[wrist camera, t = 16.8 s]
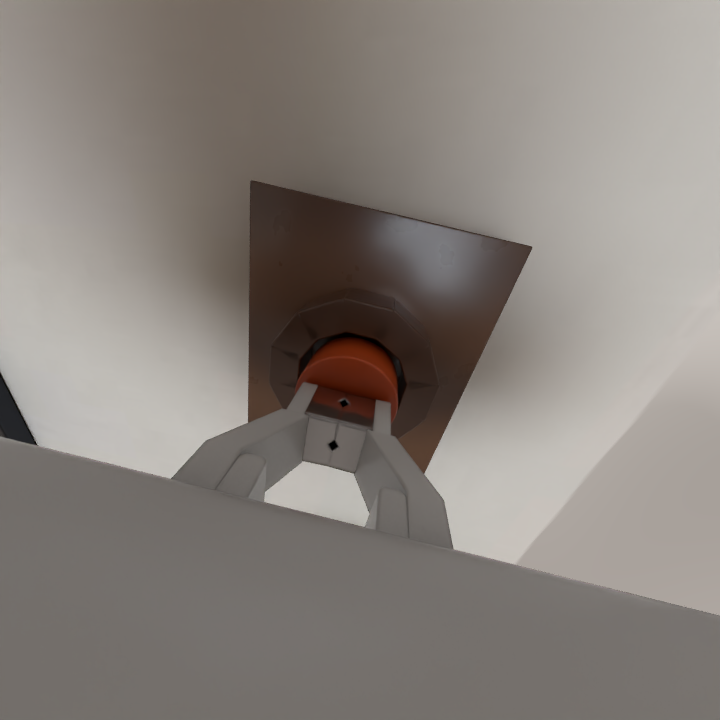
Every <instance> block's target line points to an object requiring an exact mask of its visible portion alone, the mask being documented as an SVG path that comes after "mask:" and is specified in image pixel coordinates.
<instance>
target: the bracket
mask: <svg viewBox="0 0 720 720" xmlns="http://www.w3.org/2000/svg"><path fill="white" fill-rule="evenodd" d="M0 437H4V438H8V439H12V440H16V441H20V442H24V443H28V444H32V445H36V444H35V442H34V440H33V438H32V437H31V435H30V433H29V431H28V429H27V427H26V425H25V423H24V421H23V419H22V417H21V415H20V413H19V411H18V409H17V407H16V405H15V403H14V402H13V400H12V398H11V396H10V394H9V392H8V390H7V388H6V386H5V384H4V382H3V380H2V378H1V376H0Z"/></svg>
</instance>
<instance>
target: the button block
mask: <svg viewBox="0 0 720 720" xmlns="http://www.w3.org/2000/svg"><path fill="white" fill-rule="evenodd" d="M531 250H532V247H531V246H527V245H523V244H519V243H515V242H510V241H506V240H502V239H498V238H494V237H489V236H485V235H481V234H477V233H472V232H468V231H464V230H460V229H455V228H451V227H447V226H443V225H439V224H434V223H430V222H426V221H422V220H417V219H413V218H409V217H405V216H400V215H396V214H392V213H388V212H384V211H379V210H375V209H371V208H367V207H362V206H358V205H354V204H350V203H345V202H341V201H337V200H333V199H329V198H324V197H320V196H316V195H312V194H307V193H303V192H299V191H295V190H290V189H286V188H282V187H278V186H274V185H269V184H265V183H261V182H257V181H251V182H250V283H249V385H248V423H249V422H251V421H254V420H256V419H258V418H261V417H263V416H265V415H268V414H270V413H273V412H275V411H277V410H280V409H287V407H288V406H289V404H290V403H291V401H292V399H293V398H294V396H295V388H296V384H297V381H298V379H299V377H300V375H301V374H302V372H303V371H304V369H305V367H306V366H307V364H308V363H309V361H310V360H311V358H312V357H313V355H314V354H315V352H316V351H317V350H318V349H319V348H320V347H321V346H323V345H324V344H326V343H327V342H329V341H331V340H334V339H338V338H343V337H356V338H361V339H365V340H368V341H370V342H372V343H374V344H376V345H377V346H379V347H380V348H382V349H383V350H384V351H385V352H386V353H387V354H388V355H389V357H390V358H391V360H392V361H393V363H394V366H395V368H396V372H397V386H398V410H397V413H396V416H395V418H394V420H393V422H392V424H391V436H395V437H396V438H397V439H398V441H399V442H400V443H401V445H402V446H403V447H404V449H405V450H406V451H407V453H408V454H409V455H410V456H411V458H412V459H413V460H414V462H415V463H416V464H417V466H418V467H419V468H420V470H421V471H422V472H423V474H424V473H425V471H426V469H427V467H428V465H429V463H430V460H431V458H432V456H433V454H434V452H435V450H436V448H437V446H438V444H439V442H440V440H441V437H442V435H443V433H444V431H445V429H446V427H447V425H448V423H449V421H450V419H451V417H452V415H453V412H454V410H455V408H456V406H457V404H458V402H459V400H460V398H461V396H462V394H463V392H464V389H465V387H466V385H467V383H468V381H469V379H470V377H471V375H472V373H473V371H474V369H475V367H476V364H477V362H478V360H479V358H480V356H481V354H482V352H483V350H484V348H485V346H486V344H487V341H488V339H489V337H490V335H491V333H492V331H493V329H494V327H495V325H496V323H497V321H498V318H499V316H500V314H501V312H502V310H503V308H504V306H505V304H506V302H507V300H508V298H509V296H510V293H511V291H512V289H513V287H514V285H515V283H516V281H517V279H518V277H519V275H520V273H521V270H522V268H523V266H524V264H525V262H526V260H527V258H528V256H529V254H530V252H531Z"/></svg>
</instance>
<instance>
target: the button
mask: <svg viewBox="0 0 720 720" xmlns="http://www.w3.org/2000/svg"><path fill="white" fill-rule="evenodd" d="M304 382H308V383H312V384H316V385H320V386H324V387H328V388H331V389H335V390H339V391H343V392H346V393H349V394H353V395H358V396H362V397H367V398H371V399H375V400H376V399H377V400H381V401H386V402H390V403H391V424H392V422H393V420H394V418H395V416H396V413H397V410H398V386H397V372H396V368H395V366H394V363H393V361H392V360H391V358H390V357H389V355H388V354H387V353H386V352H385V351H384V350H383V349H382V348H380V347H379V346H377V345H376V344H374V343H372V342H370V341H368V340H365V339H361V338H356V337H343V338H338V339H334V340H331V341H329V342H327V343H326V344H324V345H323V346H321V347H320V348H319V349H318V350H317V351H316V352H315V354H314V355H313V357H312V358H311V360H310V361H309V363H308V364H307V366H306V367H305V369H304V371H303V372H302V374H301V375H300V377H299V379H298V381H297V384H296V388H295V394H296V393H297V391H298V390H299V388H300V386H301V385H302V383H304Z"/></svg>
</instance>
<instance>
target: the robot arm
mask: <svg viewBox="0 0 720 720" xmlns="http://www.w3.org/2000/svg"><path fill="white" fill-rule="evenodd" d="M302 461H306V462H310V463H315V464H320V465H324V466H329V467H332V468H336V469H339V470H343V471H347V472H350V473H354V475H355V478H356V480H357V483H358V486H359V488H360V491H361V493H362V496H363V498H364V501H365V503H366V506H367V508H368V511H369V513H370V514H369V517H368V520H367V522H366V525H365V527H362V526H358V525H354V524H350V523H346V522H342V521H338V520H334V519H330V518H326V517H322V516H318V515H314V514H310V513H306V512H302V511H298V510H294V509H290V508H285V507H281V506H277V505H273V504H269V503H265V502H264V495H265V491H267V490H268V489H269V488H270V487H272V486H273V485H274V484H275V483H277V482H278V481H279V480H280V479H282V478H283V477H284V476H285V475H287V474H288V473H289V472H290V471H292V470H293V469H294V468H295V467H297V466H298V465H299V464H300V463H302ZM0 720H720V616H719V615H715V614H711V613H707V612H703V611H699V610H695V609H691V608H687V607H683V606H679V605H675V604H671V603H667V602H663V601H659V600H655V599H651V598H646V597H642V596H639V595H634V594H631V593H627V592H623V591H618V590H614V589H610V588H606V587H602V586H598V585H594V584H590V583H586V582H582V581H578V580H574V579H570V578H566V577H562V576H558V575H554V574H550V573H546V572H542V571H538V570H534V569H530V568H526V567H522V566H518V565H514V564H510V563H506V562H502V561H498V560H494V559H490V558H486V557H482V556H478V555H474V554H470V553H466V552H462V551H458V550H454V549H453V545H452V540H451V534H450V529H449V524H448V519H447V514H446V508H445V503H444V500H443V498H442V497H441V496H440V494H439V493H438V492H437V491H436V489H435V488H434V487H433V485H432V484H431V483H430V481H429V480H428V479H427V477H426V476H425V475H424V474H423V472H422V471H421V470H420V468H419V467H418V466H417V464H416V463H415V462H414V460H413V459H412V458H411V456H410V455H409V454H408V453H407V451H406V450H405V449H404V447H403V446H402V445H401V443H400V442H399V441H398V439H397V438H396V437H395V436H391V403H390V402H386V401H381V400H377V399H376V400H375V399H371V398H367V397H362V396H358V395H353V394H349V393H346V392H343V391H339V390H335V389H331V388H328V387H324V386H320V385H316V384H312V383H308V382H304V383H302V385H301V386H300V388H299V390H298V391H297V393H296V394H295V396H294V398H293V399H292V401H291V403H290V404H289V406H288V407H287V409H280V410H277V411H275V412H273V413H270V414H268V415H265V416H263V417H261V418H258V419H256V420H254V421H251V422H249V423H247V424H244V425H242V426H240V427H237V428H235V429H232V430H230V431H228V432H225V433H223V434H221V435H218V436H216V437H214V438H211V439H209V440H206V441H205V442H204V443H203V444H202V445H201V447H200V448H199V449H198V450H197V451H196V452H195V453H194V454H193V455H192V456H191V457H190V459H189V460H188V461H187V462H186V463H185V464H184V465H183V466H182V467H181V468H180V470H179V471H178V472H177V473H176V474H175V475H174V476H173V477H172V478H171V479H169V478H165V477H161V476H157V475H153V474H149V473H145V472H141V471H137V470H133V469H129V468H125V467H121V466H117V465H113V464H109V463H105V462H101V461H97V460H93V459H89V458H85V457H81V456H77V455H73V454H69V453H65V452H61V451H57V450H53V449H49V448H45V447H41V446H36V445H32V444H28V443H24V442H20V441H16V440H12V439H8V438H4V437H0Z"/></svg>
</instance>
